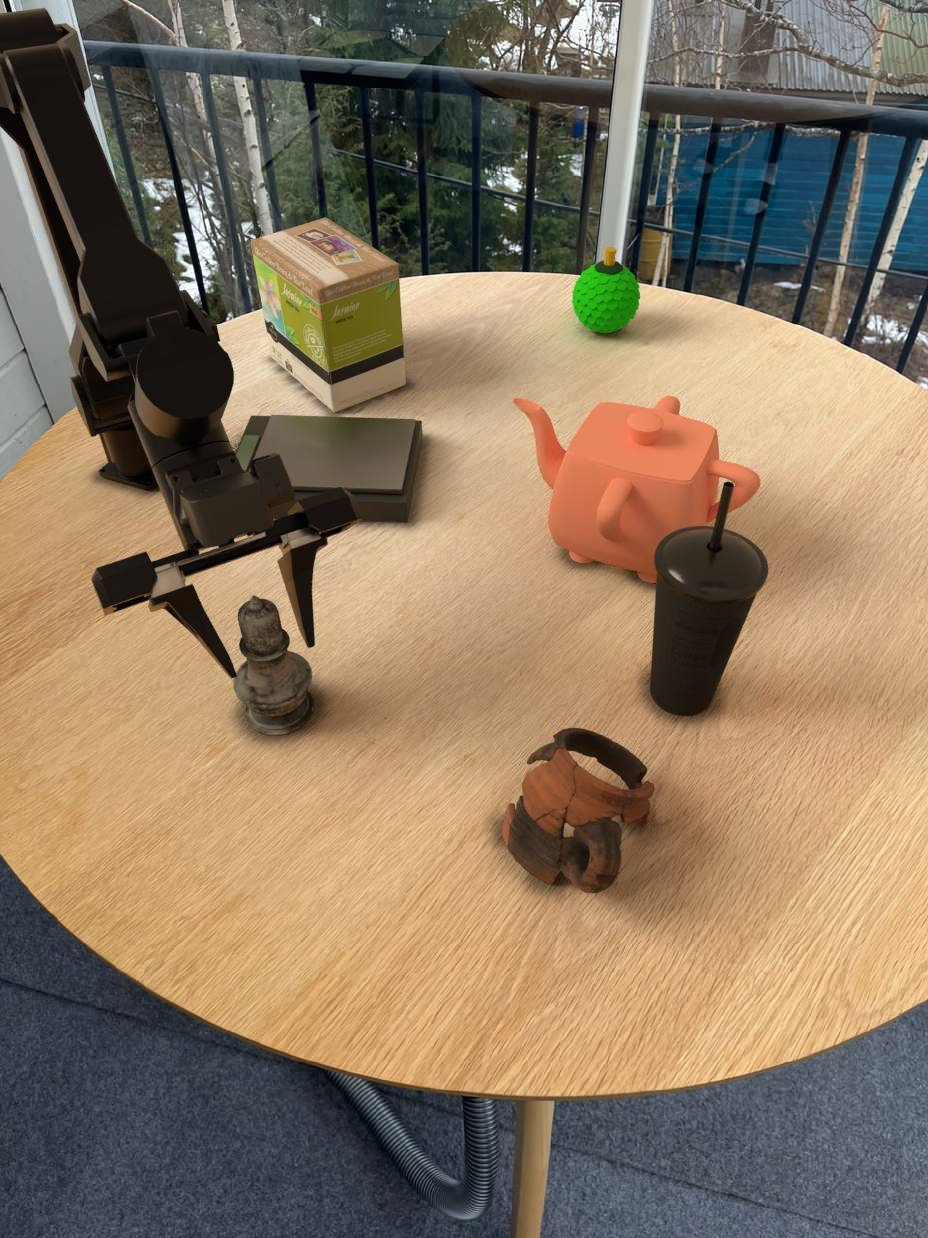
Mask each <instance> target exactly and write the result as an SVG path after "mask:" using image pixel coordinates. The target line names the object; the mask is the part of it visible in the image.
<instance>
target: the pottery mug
mask: <svg viewBox="0 0 928 1238" xmlns="http://www.w3.org/2000/svg"><path fill="white" fill-rule="evenodd" d="M552 738H553V741H552V742H549V743H547V744H545V745H542V746H541V747H539V748H538V749H537V750H535V751H534V752H532V753H530V755H529V756H528V758H527V759H526V764H527V765H532V764H534V763H535V762H539V761H545V762H543V763H540V765H538V766H536V767H534V768H533V769H531V770H529V771H527V772H526V774H525V776H524V778H523V780H522V782H521V792H522V794H521V795H519V797H518V800H517V801H516V804H515V803H513V802H509V803H508V804H507V805H506V809H505V814H504V818H503V819H504V820H503V824H502V827H501V834H502V839H503V842H504V844H505V846H506V848H507V851H508V852H509V854H510V855H511V857H513V859H514V861H515V862H516V863H517V864H519V865H520V867H522V869H523V870H524V871H526V872H527V873H529V875H531V876H533V877H536V878H537V879H538V880H540V881H542V882H545V883H546V884H549V885H552V884H554V882H555V880H556V878H557V876H559V874H560V872H562V874H563V876H564V877H565V878H566V879H567V880H569V881H570V882H571V883H572V884H573V886H575V887H576V888H577V889H578V890H580V891H581V892H583V893H585V894H600V893H602V892H604V891H606V890H607V889H609V888H610V887H611V886H612V885H613V884H614V883H615V881H616V879H617V877H618V875H619V873H620V868H621V865H622V850H621V846H622V835H623V834H622V833H623V829H622V827H621V824H619V823H618V822H617V821H616V820H613V819H614V818H615V817H618V816H620V820H621V823H622V824H624V825H626V824H627V825H628V824H630V823H632V822H634V823H635V825H636V826H638V827H639V829H642V830H643V829H645V826H646V825H647V824H648V822H649V816H650V813H651V812H650V809H651V803H650V799H651V798H652V796H653V795H654V793H655V789H656V788H655V787H656V786H655V784H654V783H652V782H651V781H650V780H644V778H645V776H646V775H647V773H648V767H647V766H646V765H645V764H644V762H643V761H641V759H640V758H638V757H637V756H636V755H635V753H634V752H631V751H630V750H629V749H627V748H626V747H625V746H623V745H621V744H620V743H619V742H616V741H614V740H613V739H611V738H609V737H607V736H605V735H604V734H600V733H598V732H595V731H593V730H589V729H587V728H586V729H585V728H581V727H568V728H562V729H561V730H559V731H557V732H556V733H555V734H553V735H552ZM570 752H575V753H577V754H580V755H582V756H585V757H588V758H594V759H596V762H597V763H598V764H599V765H601V766H603V767H604V768H606V769H608V770H610V771H611V772H613V773H614V774H615V775H617V776H618V777H619V778H620V779H621V781H623V782H624V784H625V785H626V787H627V788H621V787H618V786H615V785H613V784H610V783H609V782H607V781H604V780H602V779H600V778H599V777H597V776H595V775H594V774H592V773H590V772H589V771H588V770H587V769H585V768H584V767H583V766H581V765H579V763H578V762H577V761H576V760H575V759H574V758H573V756H572V754H571V753H570ZM643 780H644V781H643ZM565 824H567V825H568V826H570V827H572V828H574V829H573V832H572V835H571V836H564V831H565Z"/></svg>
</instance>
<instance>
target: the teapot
mask: <svg viewBox="0 0 928 1238" xmlns="http://www.w3.org/2000/svg"><path fill="white" fill-rule="evenodd" d="M512 402H513V404H514V405H515V406H516V407H517V408H518V409H519V410H520V411H521V412H522V413H524V415H525V416H526V417H527V418H528V420H529V422H530V424H531V427H532V429H533V435H534V442H535V451H536V459H537V460H536V461H537V466H538V470H539V473H540V475H541V477H542V479H543V480H544V482H545V483H546V484H547V486H548V487H549V488H550V489H551V490H552V493H551V498H550V503H549V511H548V520H547V526H548V529H549V533H550V536H551V539H552V541H553V543H554V544H556V545H557V546H559V547H561V548H562V549H564V550H567V551H568V555H569V557H570V559H571V560H573V561H574V562H576V563H580V564H591V563H593V562H595V561H596V562H599V563H602V564H606V565H609V566H613V567H617V568H620V569H625V570H628V571H629V570H630V571H634V572H636V573H637V574H636V575H637V576H638V578H639V579H641V580H642V581H644V582H647V583H652V584H656V578H657V572H656V569H655V565H654V555H655V550H656V548H657V546H658V544H659V543H660V541H661V540H662V539H663V538H664V537H665V536H667V535H668V534H670V533H672V532H674V531H676V530H678V529H682V528H686V527H691V526H710V522H712V521H715V519H716V515H717V510H718V506H719V502H720V500H719V501H717V500H718V499H717V497H718V495H719V494H718V492H719V485H720V478H721V479H725V480H728V481H729V482H732V483H733V484H734V489H733V493H732V498H731V502H730V506H729V510H728V514H729V513H732V512H733V511H735V510H737V509H739V508H742V506H744V505H746V503H748V502H749V501H750V500H751V499H753V498H754V496H755V495H756V494H757V492H758V491H759V489H760V487H761V479H760V478H761V477H760V476H759V474H758V473H757V472H756V471H754V470H753V469H751V468H749V467H748V466H744V465H743V464H739V463H735V462H730V461H727V460H722V459H720V448H719V445H720V444H719V436H718V430H717V428H715V427H714V426H712V425H711V424H708V423H706V422H703V421H701V420H697V419H694V418H692V417H691V418H690V417H687V416H683V415H680V411H681V402H680V399H679V398H677V397H676V396H674V395H665V396H663V397H662V398H660V399H659V400H658V402H656V403H655V406H654V407H653V408H651V407H645V406H640V405H633V404H628V403H623V402H615V401H614V402H613V401H601V402H599V403H598V404H596V405H595V406H594V408H593V409H592V410H591V411H590V413H588V414H587V416H586V418H585V419H584V421H583V422H582V424H581V425H580V427H579V428H578V430H577V432H576V433H575V434H574V436H573V437H572V439H571V441H570V443H569V444H568V447H567V449H565V448H564V447H563V446H562V445H561V443H560V442H559V440H558V437H557V435H556V432H555V428H554V424H553V422H552V419H551V417H550V416H549V413H547V411H546V409H544V407H542V406H541V405H540V404H538V403H537V402H534V401H532V400H529V399H526V398H523V397H516V398H513V399H512Z"/></svg>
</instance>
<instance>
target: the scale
mask: <svg viewBox="0 0 928 1238" xmlns="http://www.w3.org/2000/svg"><path fill="white" fill-rule="evenodd" d="M270 417H271V415H250V417H249V419H248V421H247V424H246V426H245V429H244V431H243V434H242V436H241V438H240V441H239V443H238V445H237V448H236V450H235V451H234V452H235V454H236V457H237V458H238V460H239V462H240V465H241V467H242V469H243V470H244V471H245V473H246V472H249V470H250V466H249V461H250V460H252V459H254V457H255V455H256V452H257V450H258V447H259V445H260V442H261V440H262V437H263V435H264V432H265V430H266V427H267V425H268V422H269V420H270ZM415 420H416V425H415V430H414V435H413V440H412V446H411V451H410V456H409V461H408V466H407V471H406V476H405V481H404V487H403V492H402V494H387V493H358V492H350V493H351V494H352V495H353V497H354V498H355V501H356V503H357V506H358V508H359V511H360V514H361V516H362V519H361V520H360V521H359V522H373V523H375V522H376V523H377V522H378V523H405V524H408V522H409V519H410V518H409V517H410V512H411V506H412V502H413V496H414V490H415V485H416V478H417V473H418V469H419V464H420V456H421V453H422V447H423V441H424V439H423V438H424V437H423V421H422V420H419V419H415ZM293 491H294V500H293V501H290V502H287V503H284V504H281V505H278V506H275V507H272V508H270V510H271V513H272V516H273V519H279V518H282V517H285V516H288V511H289V510H290V509H291V508H292V507H293V505H294V504H295V503H296V502H297V501H298V500H301V499H304V498H307V497H310V496H313V495H316V494H319V493H322V492H325V491H299V490H293Z"/></svg>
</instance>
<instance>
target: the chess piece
mask: <svg viewBox="0 0 928 1238" xmlns="http://www.w3.org/2000/svg"><path fill="white" fill-rule="evenodd" d="M237 622H238V626H239V630H240V635H241V638H240V639H239V643H238V647H239V648H238V650H239V651H240V654H241V655H242V656H243V657H245V658H246V660H245V661H244V662H243V663H242V664H240V666H239V667H238V669H237V670H236V674H237V677H235V678H232V686H233V688H232V689H233V691H234V693H235V695H236V697H237V698H238V699H239V700H240V701H241V702H242V703H243V704H244V705H245V709H244V712H245V713H244V714H245V715H244V717H245V719H246V721H247V724H248V725H249V727H251V728H252V730H254V731H256V732H258V733H259V734H263V735H266V736H276V737H277V736H284V735H287V734H290V733H293V732H296V731H297V730H299V729H301V728H303V727H304V726H305V725H306V724H307V723H308V722H309V720H310V719H311V717H312V715H313V713H314V709H315V704H314V698H313V696H312V694H311V692H310V691H309V689H310V686H311V684H312V679H313V671H312V670H313V669H312V667H311V665H310V662H309V661H308V660H307V659H305V657H303V655H301V654H298V653H297V652H295V651H290V650H289V647H290V643H291V640H290V639H291V638H290V635H289V633H288V632H287V631H286V630H285V629H284V628H283V626H282V621H281V616H280V611H279V609H278V607H277V605H276V604H275V603H274V602H272V601H271V600H269V599H266V598H261V597H259V596H257V595H254V594H253V595H252V596H251V597H250V598H249V599H248V600H247V601H245V602H244V603H243V604H242V605H241V606H240V608H239V609H238V611H237Z"/></svg>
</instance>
